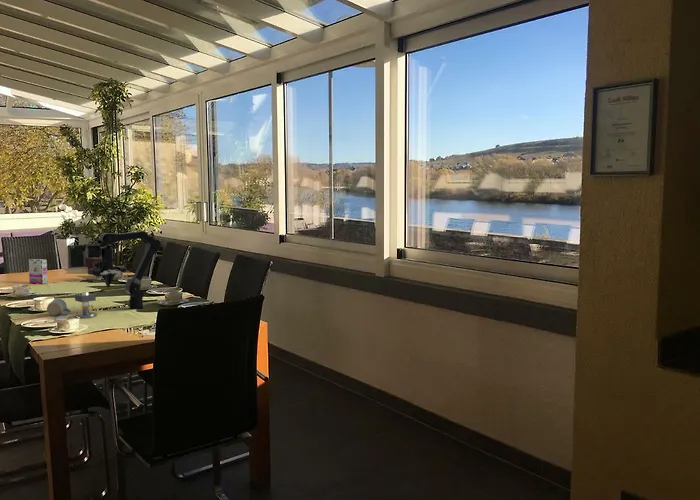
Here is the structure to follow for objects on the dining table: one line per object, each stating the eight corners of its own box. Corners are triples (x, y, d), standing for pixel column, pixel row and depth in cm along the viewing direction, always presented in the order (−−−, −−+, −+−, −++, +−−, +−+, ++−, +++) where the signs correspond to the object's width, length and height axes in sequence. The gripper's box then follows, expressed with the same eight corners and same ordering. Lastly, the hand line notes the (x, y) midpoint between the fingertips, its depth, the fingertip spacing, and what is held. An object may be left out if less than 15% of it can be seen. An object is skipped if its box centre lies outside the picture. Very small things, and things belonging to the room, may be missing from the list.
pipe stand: (90, 313, 308) (89, 290, 307) (100, 315, 302) (99, 292, 301) (71, 316, 300) (70, 292, 299) (81, 319, 294) (80, 295, 293)
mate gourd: (113, 281, 418) (112, 252, 416) (96, 283, 406) (95, 254, 404) (99, 279, 426) (98, 251, 424) (82, 281, 415) (81, 252, 413)
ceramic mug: (45, 316, 300) (45, 301, 299) (51, 313, 308) (51, 298, 307) (68, 316, 302) (68, 301, 301) (73, 313, 310) (72, 298, 309)
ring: (88, 298, 305) (88, 293, 305) (95, 300, 301) (95, 294, 301) (75, 300, 300) (74, 294, 300) (82, 302, 295) (81, 296, 295)
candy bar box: (48, 283, 407) (47, 259, 405) (42, 284, 402) (41, 260, 400) (35, 282, 410) (34, 258, 408) (29, 283, 405) (28, 259, 404)
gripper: (115, 254, 323) (116, 283, 325) (81, 257, 309) (82, 287, 310) (126, 256, 316) (127, 285, 318) (93, 259, 302) (94, 289, 303)
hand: (108, 286), depth 313 cm, fingers closed
